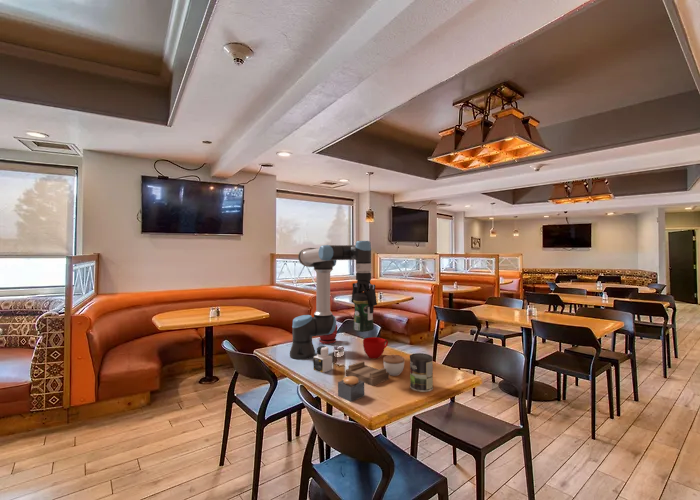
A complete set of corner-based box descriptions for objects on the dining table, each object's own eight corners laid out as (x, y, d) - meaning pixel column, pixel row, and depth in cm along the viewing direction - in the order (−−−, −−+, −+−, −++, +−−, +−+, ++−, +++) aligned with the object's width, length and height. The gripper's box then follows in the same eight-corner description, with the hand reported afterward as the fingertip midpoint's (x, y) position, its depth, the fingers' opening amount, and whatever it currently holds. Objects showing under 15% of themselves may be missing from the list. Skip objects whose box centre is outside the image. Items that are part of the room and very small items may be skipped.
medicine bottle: (313, 370, 177) (313, 347, 177) (323, 366, 182) (323, 344, 182) (322, 373, 172) (322, 349, 172) (332, 369, 177) (332, 346, 177)
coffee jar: (366, 327, 171) (366, 290, 170) (376, 330, 164) (376, 292, 164) (350, 330, 165) (350, 292, 165) (360, 333, 159) (359, 294, 158)
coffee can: (415, 393, 146) (415, 360, 147) (406, 384, 157) (406, 354, 157) (437, 390, 149) (436, 359, 149) (426, 382, 159) (426, 352, 159)
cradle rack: (345, 375, 168) (345, 365, 168) (362, 369, 176) (362, 360, 176) (372, 385, 155) (372, 375, 155) (389, 379, 163) (388, 368, 163)
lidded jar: (392, 368, 178) (392, 350, 178) (408, 373, 170) (408, 354, 171) (379, 373, 171) (378, 355, 171) (395, 379, 163) (395, 359, 163)
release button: (340, 395, 144) (340, 378, 144) (351, 391, 149) (351, 375, 149) (350, 400, 140) (350, 382, 140) (361, 395, 144) (361, 378, 144)
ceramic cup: (394, 356, 198) (394, 339, 199) (372, 362, 189) (372, 344, 189) (380, 351, 209) (380, 335, 209) (358, 356, 200) (358, 339, 200)
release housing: (338, 396, 144) (337, 382, 144) (351, 390, 150) (351, 377, 150) (350, 401, 139) (350, 387, 139) (364, 396, 144) (364, 382, 144)
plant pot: (340, 343, 229) (340, 325, 229) (323, 345, 223) (323, 327, 223) (332, 338, 240) (331, 322, 241) (315, 341, 234) (315, 324, 234)
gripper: (343, 271, 170) (344, 316, 170) (373, 273, 155) (374, 322, 155) (354, 271, 175) (354, 314, 175) (384, 272, 160) (384, 320, 160)
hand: (363, 318), depth 165 cm, fingers closed on coffee jar, 8 cm apart
